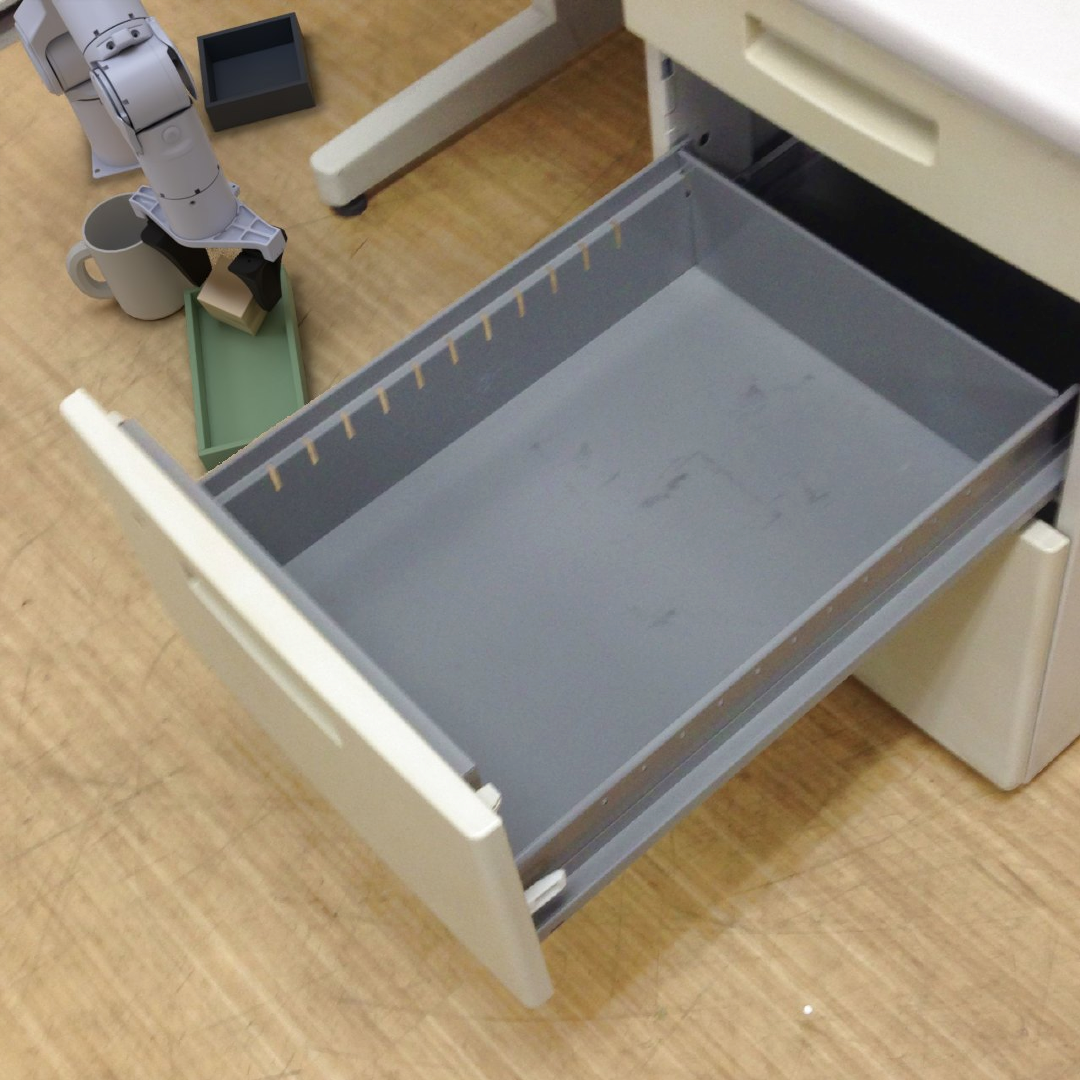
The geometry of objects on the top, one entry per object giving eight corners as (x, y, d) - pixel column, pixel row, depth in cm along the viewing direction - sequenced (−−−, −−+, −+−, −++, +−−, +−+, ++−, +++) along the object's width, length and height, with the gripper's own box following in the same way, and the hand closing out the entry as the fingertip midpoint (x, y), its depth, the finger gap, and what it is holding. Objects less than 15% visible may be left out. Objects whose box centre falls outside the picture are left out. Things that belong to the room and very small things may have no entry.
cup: (201, 308, 136) (166, 237, 129) (94, 340, 136) (53, 272, 129) (191, 253, 140) (157, 182, 133) (87, 285, 140) (47, 215, 133)
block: (234, 274, 134) (220, 254, 130) (278, 293, 133) (265, 273, 129) (211, 317, 133) (196, 298, 129) (255, 336, 133) (241, 318, 128)
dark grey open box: (207, 64, 155) (196, 36, 152) (304, 40, 155) (294, 11, 152) (216, 135, 149) (204, 108, 146) (317, 110, 149) (307, 81, 146)
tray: (192, 308, 136) (183, 289, 134) (291, 283, 136) (283, 263, 134) (208, 474, 126) (198, 456, 124) (316, 446, 126) (307, 428, 123)
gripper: (285, 162, 119) (330, 281, 131) (144, 120, 125) (199, 237, 136) (235, 223, 116) (285, 339, 128) (92, 177, 122) (152, 292, 133)
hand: (237, 290), depth 132 cm, fingers open, 7 cm apart
